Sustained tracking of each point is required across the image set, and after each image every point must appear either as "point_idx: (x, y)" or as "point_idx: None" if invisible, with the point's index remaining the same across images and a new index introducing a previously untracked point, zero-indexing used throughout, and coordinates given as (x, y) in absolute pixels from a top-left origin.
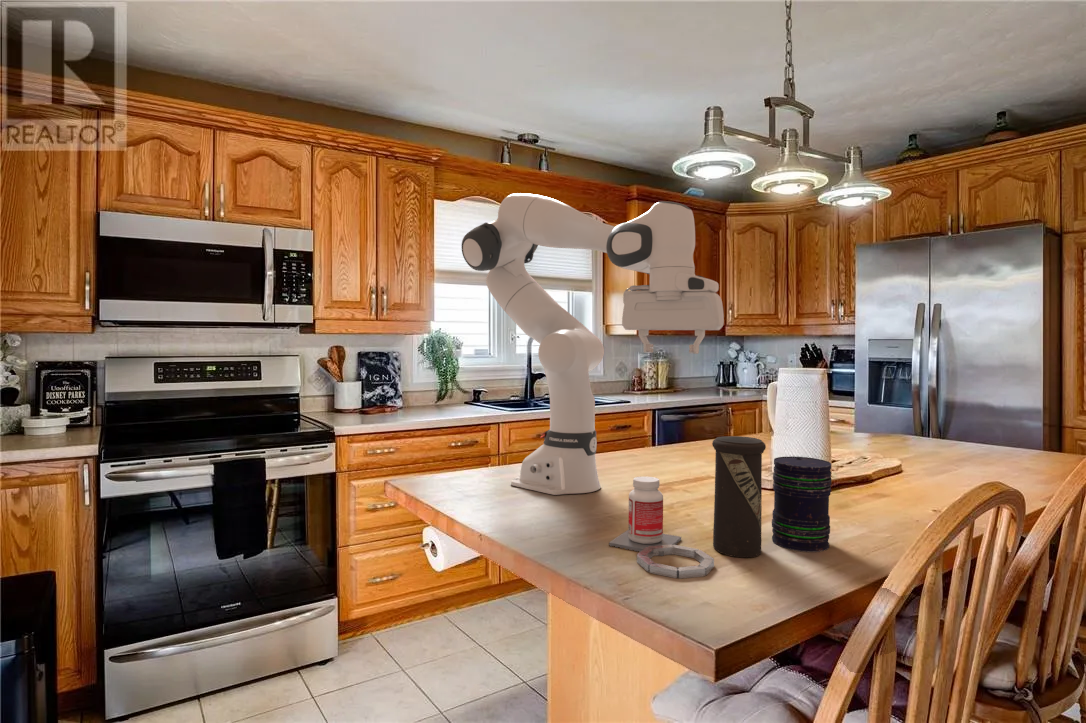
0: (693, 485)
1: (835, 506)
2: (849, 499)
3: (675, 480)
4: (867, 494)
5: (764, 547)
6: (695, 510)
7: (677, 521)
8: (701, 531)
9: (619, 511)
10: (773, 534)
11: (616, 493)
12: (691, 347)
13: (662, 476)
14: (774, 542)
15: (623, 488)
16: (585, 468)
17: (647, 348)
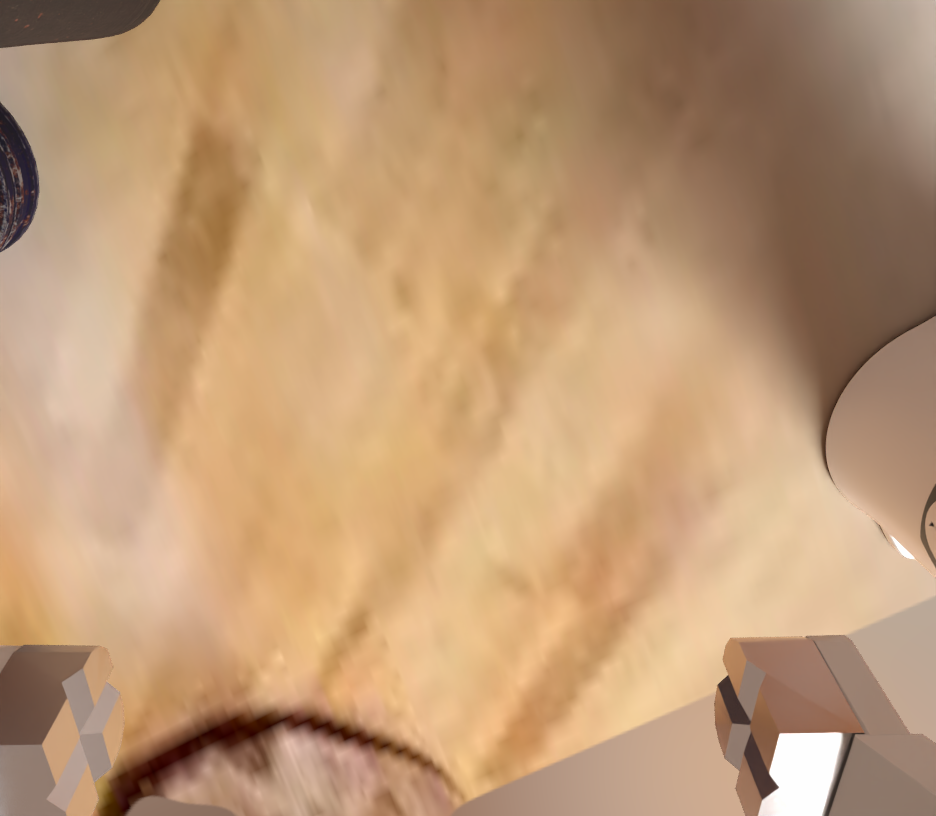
0: (516, 656)
1: (30, 635)
2: None
3: (594, 685)
4: None
5: None
6: (401, 364)
7: (409, 187)
8: (282, 105)
9: (659, 196)
10: (7, 135)
11: (746, 430)
12: (20, 704)
13: (652, 711)
14: (4, 108)
15: (740, 506)
16: (921, 428)
17: (802, 670)
